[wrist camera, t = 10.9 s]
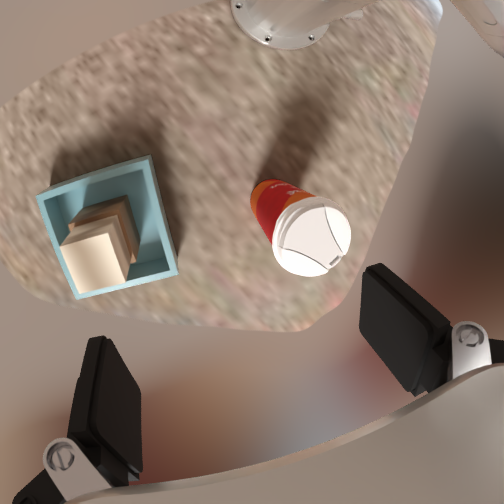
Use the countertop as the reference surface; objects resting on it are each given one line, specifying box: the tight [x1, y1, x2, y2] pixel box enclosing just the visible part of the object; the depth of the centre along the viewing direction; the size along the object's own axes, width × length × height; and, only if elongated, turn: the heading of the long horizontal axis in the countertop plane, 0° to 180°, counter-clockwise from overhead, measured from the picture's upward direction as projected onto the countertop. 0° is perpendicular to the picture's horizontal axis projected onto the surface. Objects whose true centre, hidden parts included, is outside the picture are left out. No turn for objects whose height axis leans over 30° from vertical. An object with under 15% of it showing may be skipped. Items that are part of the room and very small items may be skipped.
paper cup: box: [250, 179, 351, 277], centre depth 33 cm, size 8×8×14 cm
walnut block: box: [68, 195, 141, 263], centre depth 32 cm, size 6×6×6 cm
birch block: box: [60, 215, 131, 294], centre depth 27 cm, size 5×5×5 cm
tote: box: [36, 154, 179, 300], centre depth 33 cm, size 14×14×4 cm
